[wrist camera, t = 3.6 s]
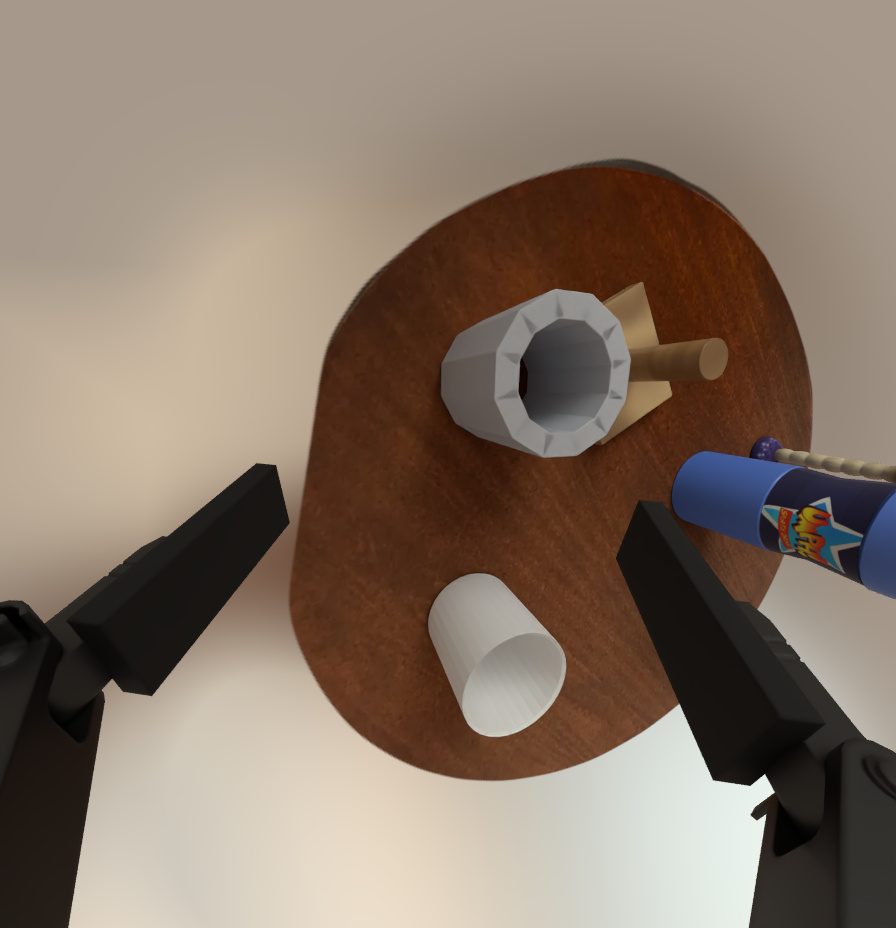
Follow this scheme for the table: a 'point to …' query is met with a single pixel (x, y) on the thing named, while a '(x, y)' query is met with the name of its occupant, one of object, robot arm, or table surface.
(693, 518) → the water bottle
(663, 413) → the table surface
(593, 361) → the silver tape
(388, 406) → the table surface
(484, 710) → the mug
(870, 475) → the toy lamp
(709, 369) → the stand
